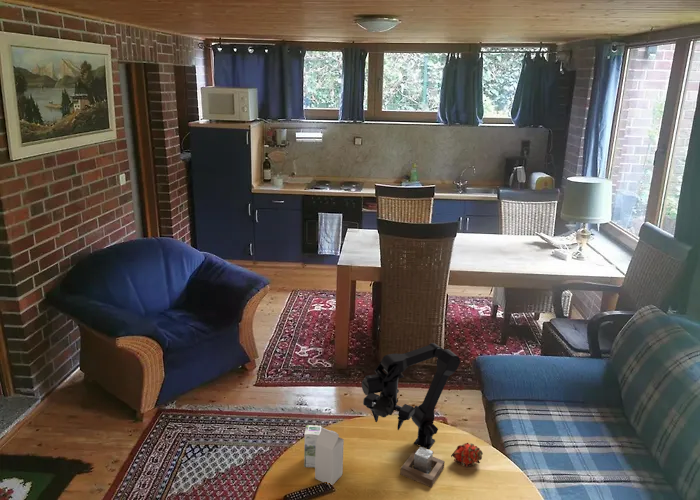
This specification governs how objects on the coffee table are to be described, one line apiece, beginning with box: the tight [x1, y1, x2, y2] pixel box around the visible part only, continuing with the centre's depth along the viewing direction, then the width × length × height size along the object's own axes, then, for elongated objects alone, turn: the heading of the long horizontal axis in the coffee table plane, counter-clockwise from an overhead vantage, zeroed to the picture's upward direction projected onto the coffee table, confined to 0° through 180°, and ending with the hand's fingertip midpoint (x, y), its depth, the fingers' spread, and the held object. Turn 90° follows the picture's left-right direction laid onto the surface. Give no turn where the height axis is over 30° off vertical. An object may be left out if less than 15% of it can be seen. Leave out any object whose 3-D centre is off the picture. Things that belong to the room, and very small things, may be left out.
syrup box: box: [303, 424, 322, 469], centre depth 201 cm, size 6×6×14 cm
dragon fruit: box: [450, 442, 484, 468], centre depth 205 cm, size 8×8×12 cm
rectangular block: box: [413, 446, 434, 474], centre depth 199 cm, size 5×5×8 cm
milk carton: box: [314, 427, 345, 486], centre depth 193 cm, size 7×7×19 cm
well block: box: [400, 449, 446, 488], centre depth 200 cm, size 12×12×3 cm
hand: (387, 425), depth 206 cm, fingers open, 9 cm apart
